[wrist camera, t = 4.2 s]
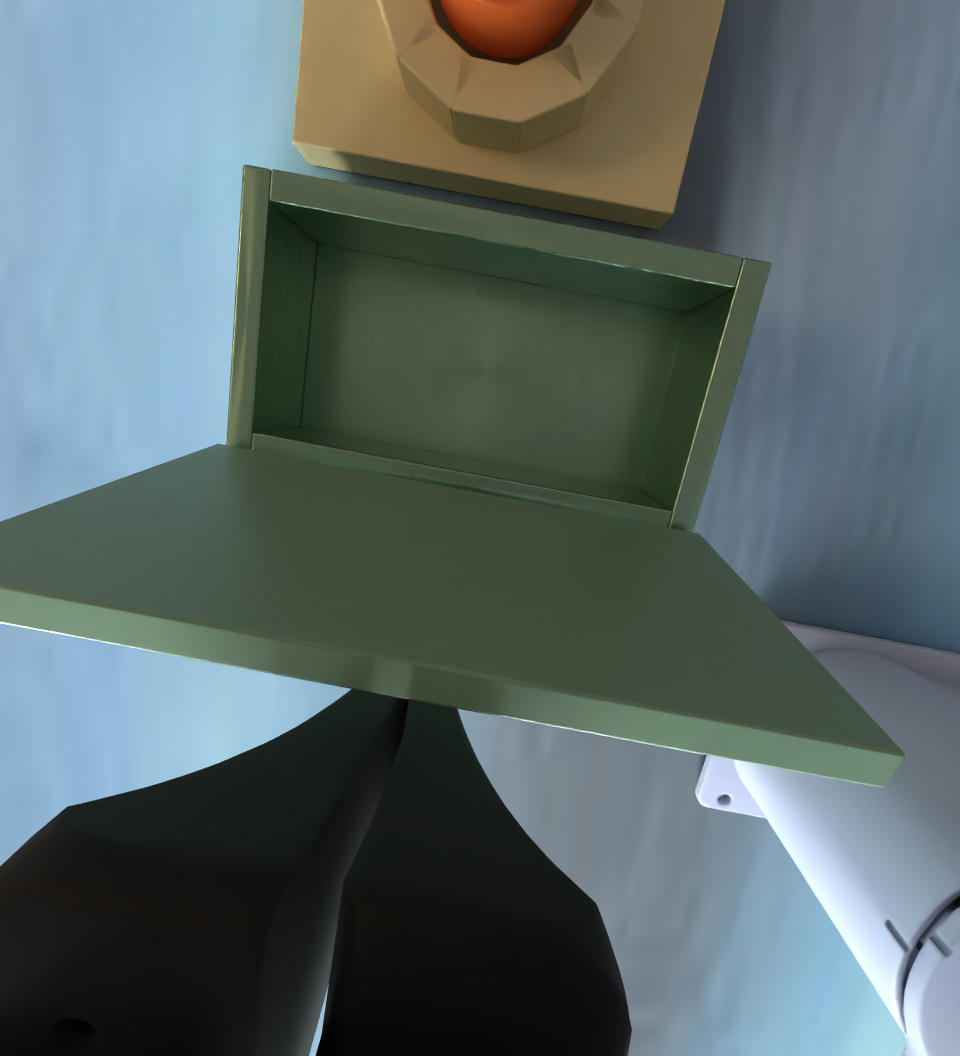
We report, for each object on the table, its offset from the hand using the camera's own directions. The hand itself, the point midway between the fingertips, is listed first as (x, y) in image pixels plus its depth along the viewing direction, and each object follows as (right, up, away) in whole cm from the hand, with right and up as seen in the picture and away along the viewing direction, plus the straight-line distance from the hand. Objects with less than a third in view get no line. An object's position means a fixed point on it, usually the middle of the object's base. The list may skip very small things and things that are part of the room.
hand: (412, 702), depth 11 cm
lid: (+1, +4, -1) cm, 4 cm away
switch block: (+2, +17, +4) cm, 18 cm away
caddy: (+2, +9, +6) cm, 11 cm away
